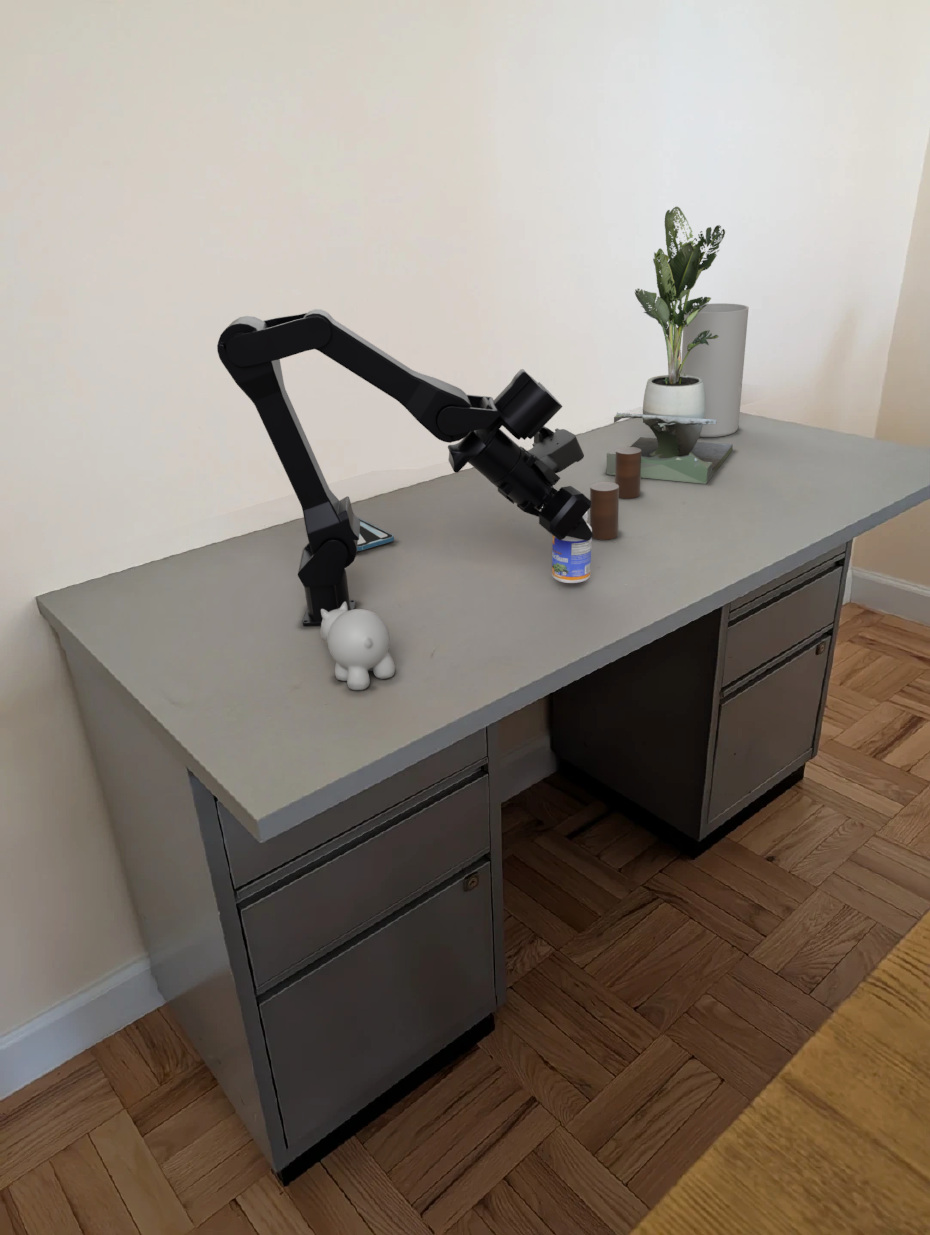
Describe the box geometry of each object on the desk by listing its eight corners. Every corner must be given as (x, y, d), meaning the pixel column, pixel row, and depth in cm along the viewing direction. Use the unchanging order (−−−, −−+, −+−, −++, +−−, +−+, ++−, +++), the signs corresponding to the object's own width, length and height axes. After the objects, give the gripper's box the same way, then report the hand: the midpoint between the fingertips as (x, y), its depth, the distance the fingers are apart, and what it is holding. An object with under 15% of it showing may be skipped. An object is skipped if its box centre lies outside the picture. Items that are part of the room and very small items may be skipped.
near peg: (619, 539, 139) (621, 490, 136) (591, 540, 140) (592, 491, 136) (615, 529, 143) (616, 481, 140) (588, 530, 143) (588, 482, 140)
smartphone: (352, 514, 154) (396, 536, 142) (352, 519, 154) (397, 541, 143) (313, 524, 150) (355, 548, 139) (314, 530, 151) (356, 553, 139)
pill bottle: (544, 573, 126) (544, 508, 122) (577, 565, 128) (578, 501, 124) (564, 587, 121) (565, 520, 117) (598, 579, 123) (600, 512, 119)
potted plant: (706, 484, 160) (725, 209, 140) (606, 474, 168) (610, 213, 148) (732, 450, 178) (752, 201, 157) (640, 443, 185) (648, 205, 165)
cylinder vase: (701, 419, 199) (709, 302, 188) (750, 429, 190) (761, 306, 179) (665, 431, 192) (671, 310, 181) (714, 441, 183) (723, 314, 172)
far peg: (641, 498, 156) (643, 453, 152) (616, 499, 156) (617, 454, 152) (637, 489, 160) (639, 446, 156) (612, 491, 160) (613, 447, 156)
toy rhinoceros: (356, 641, 114) (349, 580, 110) (405, 678, 105) (398, 613, 101) (305, 659, 110) (295, 597, 106) (350, 699, 101) (342, 633, 97)
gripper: (577, 430, 105) (655, 505, 113) (516, 398, 121) (588, 466, 129) (517, 504, 106) (598, 573, 115) (464, 463, 122) (538, 526, 130)
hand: (581, 530), depth 122 cm, fingers closed on pill bottle, 5 cm apart
